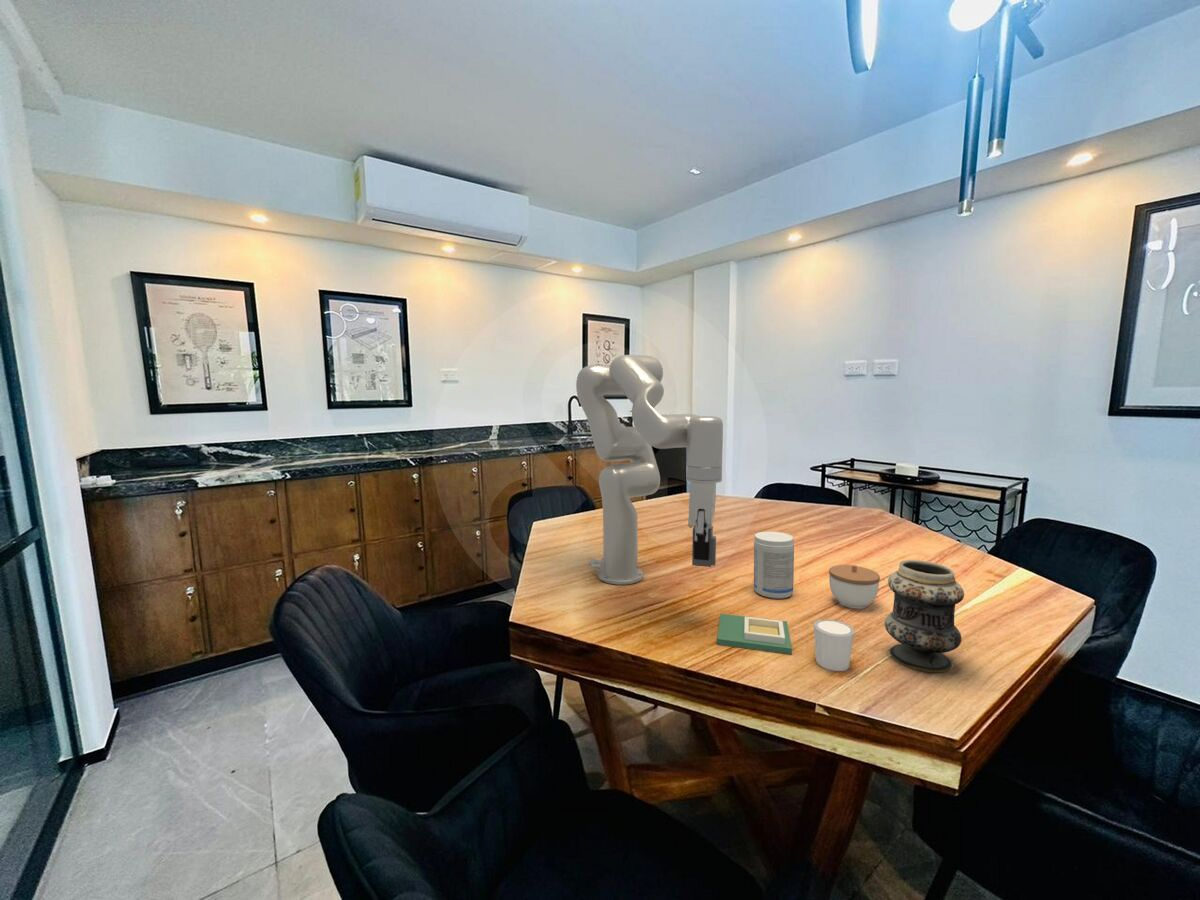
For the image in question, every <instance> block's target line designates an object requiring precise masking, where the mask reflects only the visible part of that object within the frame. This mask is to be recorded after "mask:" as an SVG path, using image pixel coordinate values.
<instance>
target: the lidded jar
mask: <svg viewBox="0 0 1200 900" xmlns="http://www.w3.org/2000/svg"><path fill="white" fill-rule="evenodd" d="M828 573H829V575H828V577H829V578H828V579H829V588H830V592H831V593H832V595H833V596H834V598H835V599H836V600H837V601H838V603H839V604H840V605H842V606H843V607H846V608H850V609H854V610H855V609H856V610H862V609H866V608H867V607H868V606H869V605H870V604H872V603H873V602H874V601H875V599H876V598H877V596H878V593H879V586H880V580H881V576H880V574H879V573H878V572H876V571H875V570H873V569H869V568H867V567H864V566H858V565H856V564H855V565H854V564H851V565H850V564H838V565H832V566H831V567H830V568H829V569H828Z"/></svg>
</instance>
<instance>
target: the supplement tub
mask: <svg viewBox="0 0 1200 900" xmlns="http://www.w3.org/2000/svg"><path fill="white" fill-rule="evenodd" d="M794 542H795V541H794V536H792V535H791V534H788V533H786V532H780V531H779V532H778V531H760V532H756V533H755V534H754V540H753V589H754V591H755V593H756V594H757V595H760V596H762V597H764V598H770V599H778V600H779V599H786V598H789V597H791V596H792V595H793V593H794V580H795V579H794V573H795V571H794V570H795V569H794V568H795V544H794Z"/></svg>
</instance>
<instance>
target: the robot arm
mask: <svg viewBox="0 0 1200 900" xmlns="http://www.w3.org/2000/svg"><path fill="white" fill-rule="evenodd" d="M576 377H577V378H576V381H575V383H576V384H575V386H576V387H575V389H576V394H577V399H578V401H579V404H580V406H581V408H582V410H583V412H584V414H585V417H586V419H587V422H588V427H589V431H590V434H591V437H592V441H593V442H592V443H593V446H594V448H595V452H596V455H597V456H598V458H599V459H600V460H601V461H603V462H610V463H611V462H623V461H629V462H626V463H614V464H611V465H608V466H606V467H605V468H603V469H602V470H601V472H600V473H599V475H598V476H599V477H598V485H599V486H598V487H599V491H600V496H601V503H602V504H601V505H602V530H603V531H602V544H603V545H602V546H603V550H602V551H603V552H602V553H603V558H600V559H596V558H595V559H594V558H590V559H589V561H588V564H589V565H588V566H589V567H590V568H591V569H598V572H597V578H598V579H599V580H600V581H602V582H604V583H607V584H610V585H611V584H612V585H620V586H623V585H625V586H626V585H631V584H635V583H638V582H640V581H641V580H643V578H644V572H643V570H641V569H640V568H639V567H638V565H639V564H638V563H639V562H638V561H639V559H638V557H639V555H638V554H639V553H638V550H639V548H638V547H639V544H638V543H639V540H638V537H639V536H638V535H639V534H638V532H639V531H638V530H639V529H638V528H639V527H638V525H639V523H638V513H637V509H636V508H635V506H634V504H633V502H632V501H631V498H633V499H634V498H637V497H638V498H639V497H644V496H645V497H646V496H649V495H653V494H655V493H656V492H657V491H658V490H659V488H660V484H661V475H660V471H659V467H658V464H657V460H656V457H655V453H654V450H653V448H656V449H659V450H662V449H663V450H664V449H665V450H667V449H674V448H675V449H676V448H678V449H679V448H686V468H685V469H686V473H685V474H686V475H685V477H686V479H685V480H686V481H687V482H690V486H689V502H688V503H689V504H688V522H687V523H688V524H687V526H688V527H689V528H693V527H694V525H695V540H694V559H698V560H709V542H708V532H709V529H710V528H711V527H712V526H713V522H714V518H715V510H716V501H717V500H716V498H717V497H716V496H717V483H720V482H721V483H722V481H723V442H724V441H723V440H724V439H723V437H724V422H723V419H722V418H721V417H718V416H712V415H711V416H707V415H706V416H704V415H703V416H701V415H699V414H698V415H697V414H693V413H692V414H691V413H688V414H687V413H686V414H684V413H682V414H681V413H680V414H678V413H676V414H672V413H671V414H661V413H659V412H658V411H656V410H655V407H656V406H657V405H659V404H660V403H661V400H662V399H663V396H664V390H665V389H664V386H663V384H662V383H661V382H662V380H663V377H664V368H663V365H662V364H661V362H660V361H659V360H658V359H657V358H655V356H652V355H640V354H639V355H636V354H621V355H620V356H616V357H615V358H614V359H613V360H611V363H610V364H589V365H586V366H584V367H583V368H582V369H580V371H579V372H578V374H577V376H576ZM604 396H626V397H627V399H628V400H629V402H631V404H632V406H631V416H632V417H631V418H632V422H633V426H622V424H621V423H620V422H621V421H620V420H619V417H618V413H617V410H616V409H615V407H614V406H613V405H612V404H611V403H610V401H608V400H607V399H606V398H605V397H604ZM704 525H706V526H707V527H704ZM697 526H698V527H697ZM704 530H705V531H706V533H705V532H704Z"/></svg>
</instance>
